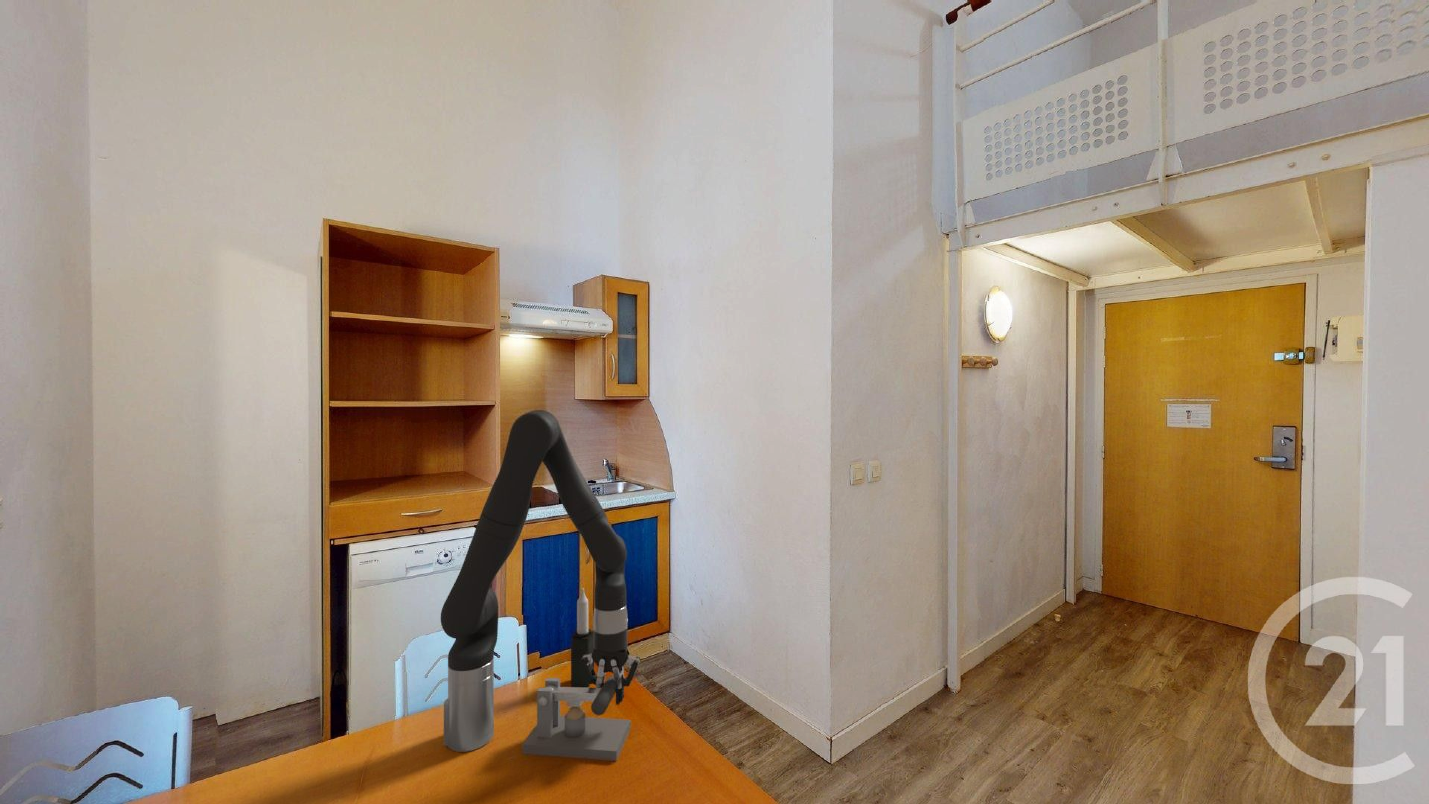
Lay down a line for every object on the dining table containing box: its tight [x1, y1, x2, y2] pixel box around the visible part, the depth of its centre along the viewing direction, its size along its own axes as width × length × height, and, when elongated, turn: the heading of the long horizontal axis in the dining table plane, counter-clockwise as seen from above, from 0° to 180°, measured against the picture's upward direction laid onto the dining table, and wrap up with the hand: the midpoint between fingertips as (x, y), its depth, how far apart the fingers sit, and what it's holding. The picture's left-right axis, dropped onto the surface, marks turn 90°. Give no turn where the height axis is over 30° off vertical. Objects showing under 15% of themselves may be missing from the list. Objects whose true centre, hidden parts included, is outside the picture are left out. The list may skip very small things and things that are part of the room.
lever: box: [546, 675, 617, 716], centre depth 118 cm, size 16×10×4 cm, turn 84°
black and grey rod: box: [570, 587, 595, 688], centre depth 143 cm, size 5×5×25 cm
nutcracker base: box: [521, 677, 632, 762], centre depth 118 cm, size 20×11×12 cm, turn 84°
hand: (610, 702), depth 121 cm, fingers closed on lever, 3 cm apart
